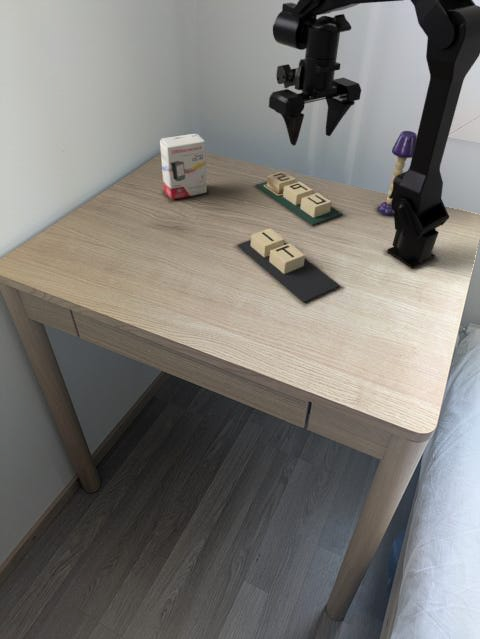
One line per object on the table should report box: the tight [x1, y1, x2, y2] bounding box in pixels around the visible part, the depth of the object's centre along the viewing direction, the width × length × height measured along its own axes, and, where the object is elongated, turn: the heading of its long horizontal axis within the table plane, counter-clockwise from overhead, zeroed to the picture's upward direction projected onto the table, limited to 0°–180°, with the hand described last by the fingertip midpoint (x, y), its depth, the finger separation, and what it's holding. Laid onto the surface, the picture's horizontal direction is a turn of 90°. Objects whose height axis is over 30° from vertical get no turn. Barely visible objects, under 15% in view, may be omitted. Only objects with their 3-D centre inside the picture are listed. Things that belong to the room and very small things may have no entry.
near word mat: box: [237, 228, 341, 304], centre depth 89 cm, size 20×8×3 cm, turn 34°
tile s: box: [266, 171, 296, 194], centre depth 110 cm, size 4×4×3 cm
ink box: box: [159, 133, 208, 200], centre depth 106 cm, size 9×5×12 cm, turn 116°
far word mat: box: [255, 181, 343, 227], centre depth 107 cm, size 20×8×3 cm, turn 34°
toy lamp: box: [377, 130, 417, 217], centre depth 100 cm, size 5×5×17 cm
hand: (310, 140), depth 100 cm, fingers open, 9 cm apart
